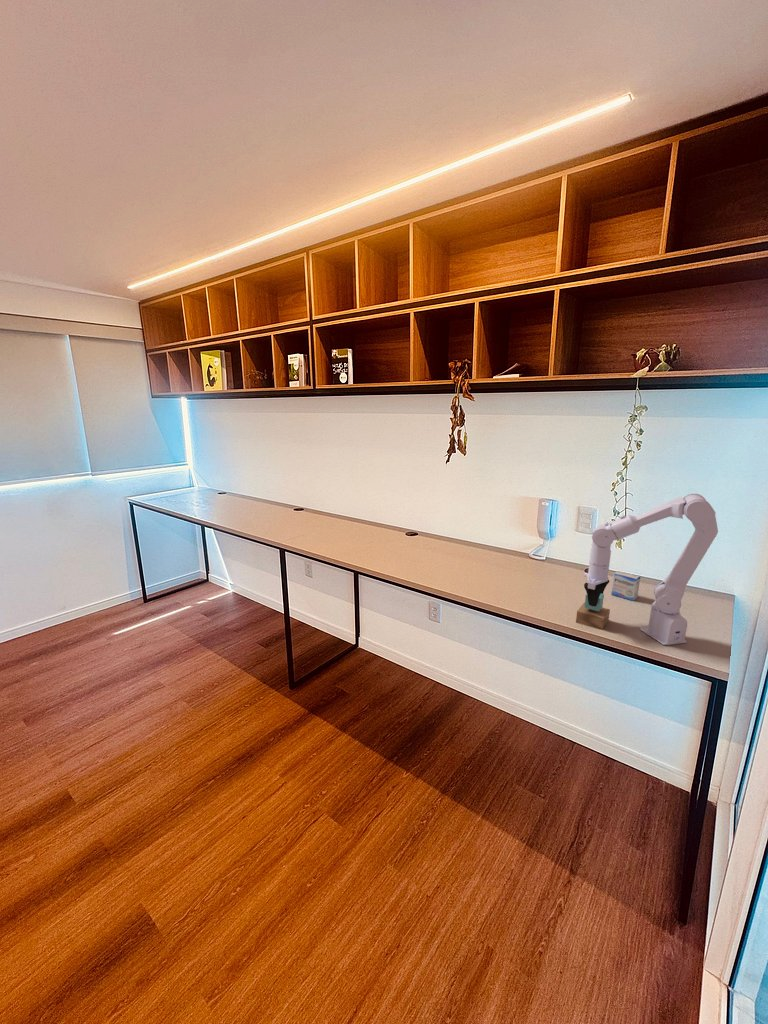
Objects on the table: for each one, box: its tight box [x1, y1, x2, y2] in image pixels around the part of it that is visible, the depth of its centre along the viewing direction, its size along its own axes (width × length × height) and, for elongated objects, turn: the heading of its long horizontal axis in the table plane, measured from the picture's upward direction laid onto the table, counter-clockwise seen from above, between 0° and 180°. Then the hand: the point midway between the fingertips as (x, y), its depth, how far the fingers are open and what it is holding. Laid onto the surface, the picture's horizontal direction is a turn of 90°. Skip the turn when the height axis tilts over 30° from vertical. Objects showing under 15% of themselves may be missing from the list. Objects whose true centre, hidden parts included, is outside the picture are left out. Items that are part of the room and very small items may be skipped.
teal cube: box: [584, 593, 605, 611], centre depth 141 cm, size 4×4×4 cm
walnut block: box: [575, 602, 611, 631], centre depth 142 cm, size 8×8×4 cm
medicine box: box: [610, 570, 641, 602], centre depth 161 cm, size 8×4×9 cm, turn 45°
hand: (594, 602), depth 141 cm, fingers closed on teal cube, 4 cm apart
